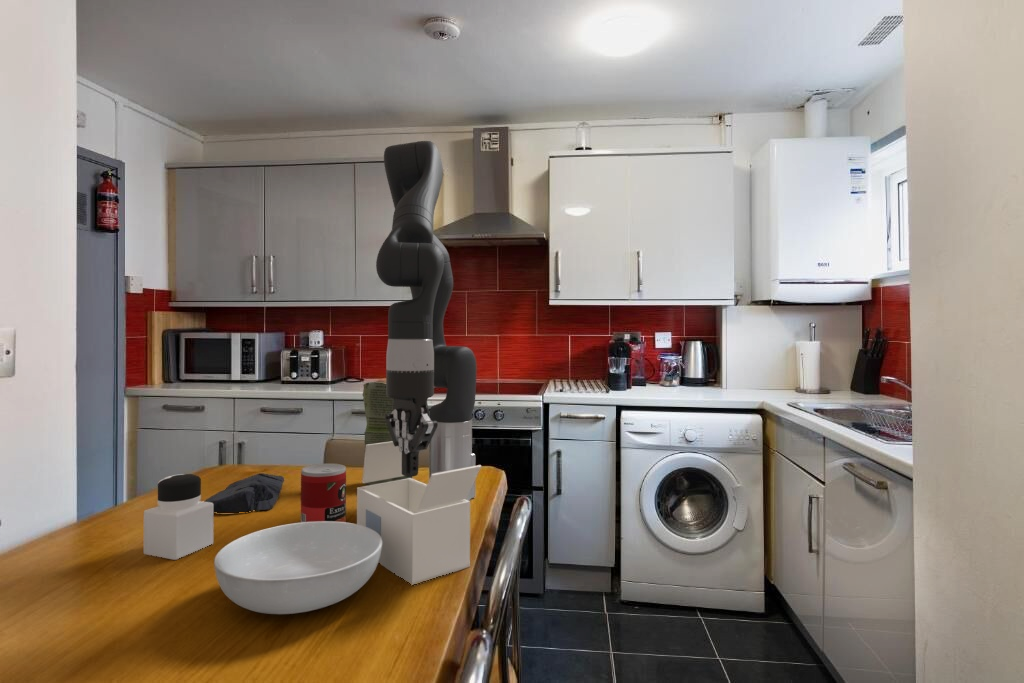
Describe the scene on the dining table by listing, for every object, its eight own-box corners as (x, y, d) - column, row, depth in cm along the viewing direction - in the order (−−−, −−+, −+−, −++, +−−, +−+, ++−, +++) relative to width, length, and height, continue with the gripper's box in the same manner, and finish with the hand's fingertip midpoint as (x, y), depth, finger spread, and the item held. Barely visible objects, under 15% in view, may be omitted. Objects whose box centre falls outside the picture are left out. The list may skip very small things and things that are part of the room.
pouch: (356, 484, 128) (357, 379, 128) (397, 475, 137) (397, 377, 137) (385, 493, 120) (385, 382, 120) (426, 483, 129) (426, 379, 129)
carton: (409, 534, 96) (410, 477, 96) (469, 566, 82) (470, 501, 82) (356, 548, 89) (356, 487, 89) (411, 586, 75) (412, 515, 75)
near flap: (417, 508, 76) (418, 509, 76) (431, 473, 73) (432, 475, 73) (465, 497, 81) (466, 498, 81) (480, 464, 79) (481, 466, 78)
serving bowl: (386, 624, 65) (386, 567, 65) (193, 651, 60) (193, 589, 60) (378, 557, 85) (379, 514, 85) (233, 572, 80) (233, 526, 79)
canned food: (332, 537, 94) (332, 474, 94) (291, 533, 96) (291, 471, 96) (353, 522, 101) (354, 464, 101) (315, 519, 103) (315, 462, 103)
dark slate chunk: (295, 485, 128) (295, 465, 128) (270, 515, 107) (270, 491, 107) (226, 488, 126) (226, 467, 126) (186, 519, 104) (186, 494, 104)
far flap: (407, 475, 95) (406, 474, 95) (411, 439, 94) (410, 438, 94) (362, 483, 89) (362, 482, 89) (366, 445, 88) (365, 444, 88)
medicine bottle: (214, 544, 90) (214, 473, 90) (175, 561, 83) (175, 484, 83) (182, 539, 92) (183, 469, 92) (142, 554, 86) (142, 479, 86)
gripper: (453, 368, 83) (452, 480, 83) (409, 365, 93) (409, 464, 93) (411, 370, 78) (410, 488, 79) (369, 366, 88) (369, 471, 89)
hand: (409, 475), depth 86 cm, fingers closed
